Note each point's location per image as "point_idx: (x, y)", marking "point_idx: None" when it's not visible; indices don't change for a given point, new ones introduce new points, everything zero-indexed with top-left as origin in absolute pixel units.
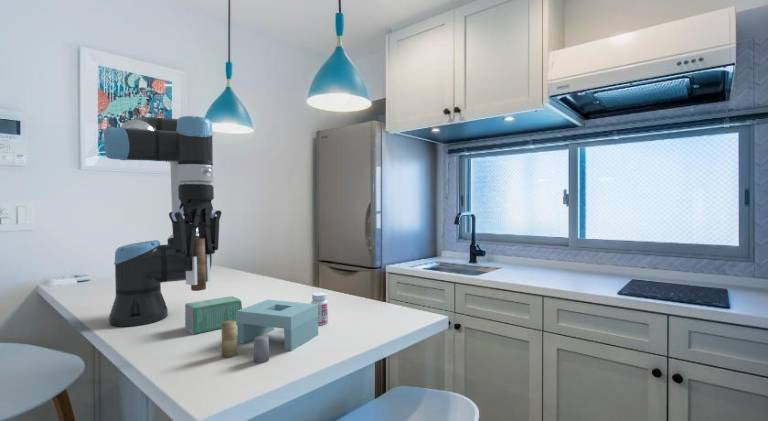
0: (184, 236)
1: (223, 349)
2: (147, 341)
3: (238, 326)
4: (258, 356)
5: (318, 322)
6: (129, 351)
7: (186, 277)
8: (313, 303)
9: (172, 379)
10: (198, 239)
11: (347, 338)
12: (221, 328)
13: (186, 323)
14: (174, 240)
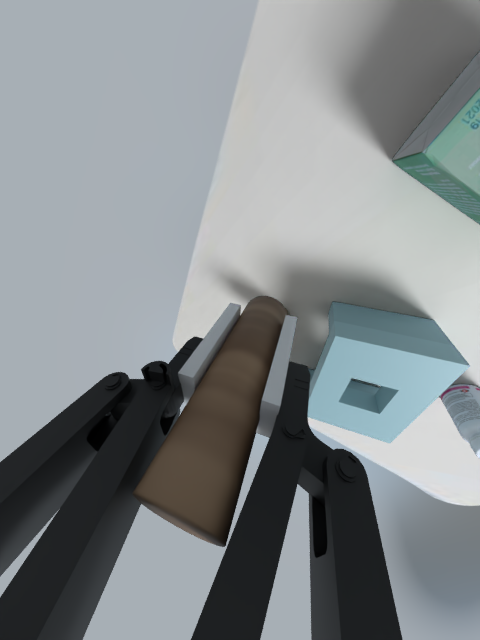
0: (51, 504)
1: None
2: (327, 46)
3: (333, 319)
4: None
5: (441, 398)
6: (251, 91)
7: (221, 317)
8: (469, 427)
9: (199, 289)
10: (159, 515)
11: None
12: None
13: (477, 61)
14: (29, 444)
